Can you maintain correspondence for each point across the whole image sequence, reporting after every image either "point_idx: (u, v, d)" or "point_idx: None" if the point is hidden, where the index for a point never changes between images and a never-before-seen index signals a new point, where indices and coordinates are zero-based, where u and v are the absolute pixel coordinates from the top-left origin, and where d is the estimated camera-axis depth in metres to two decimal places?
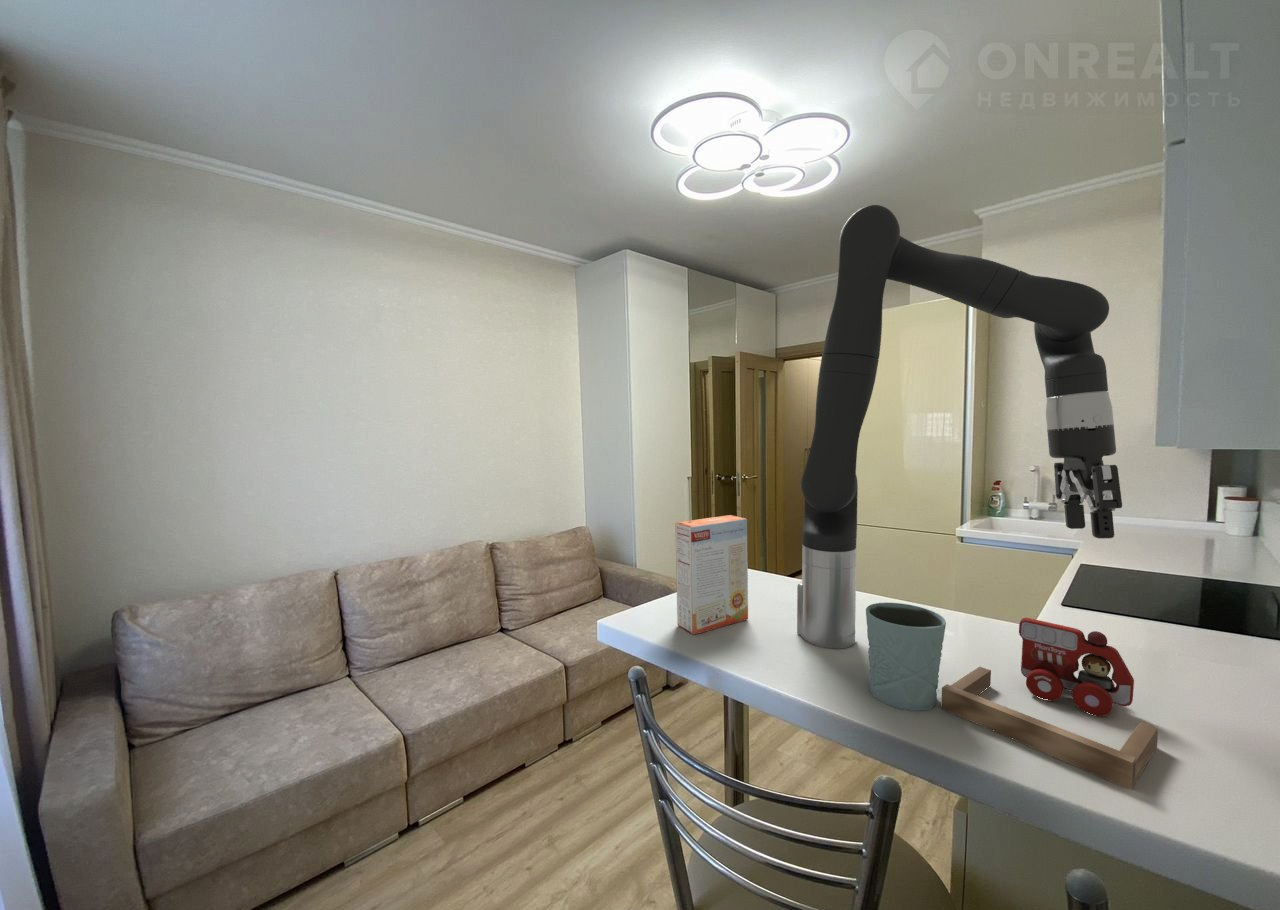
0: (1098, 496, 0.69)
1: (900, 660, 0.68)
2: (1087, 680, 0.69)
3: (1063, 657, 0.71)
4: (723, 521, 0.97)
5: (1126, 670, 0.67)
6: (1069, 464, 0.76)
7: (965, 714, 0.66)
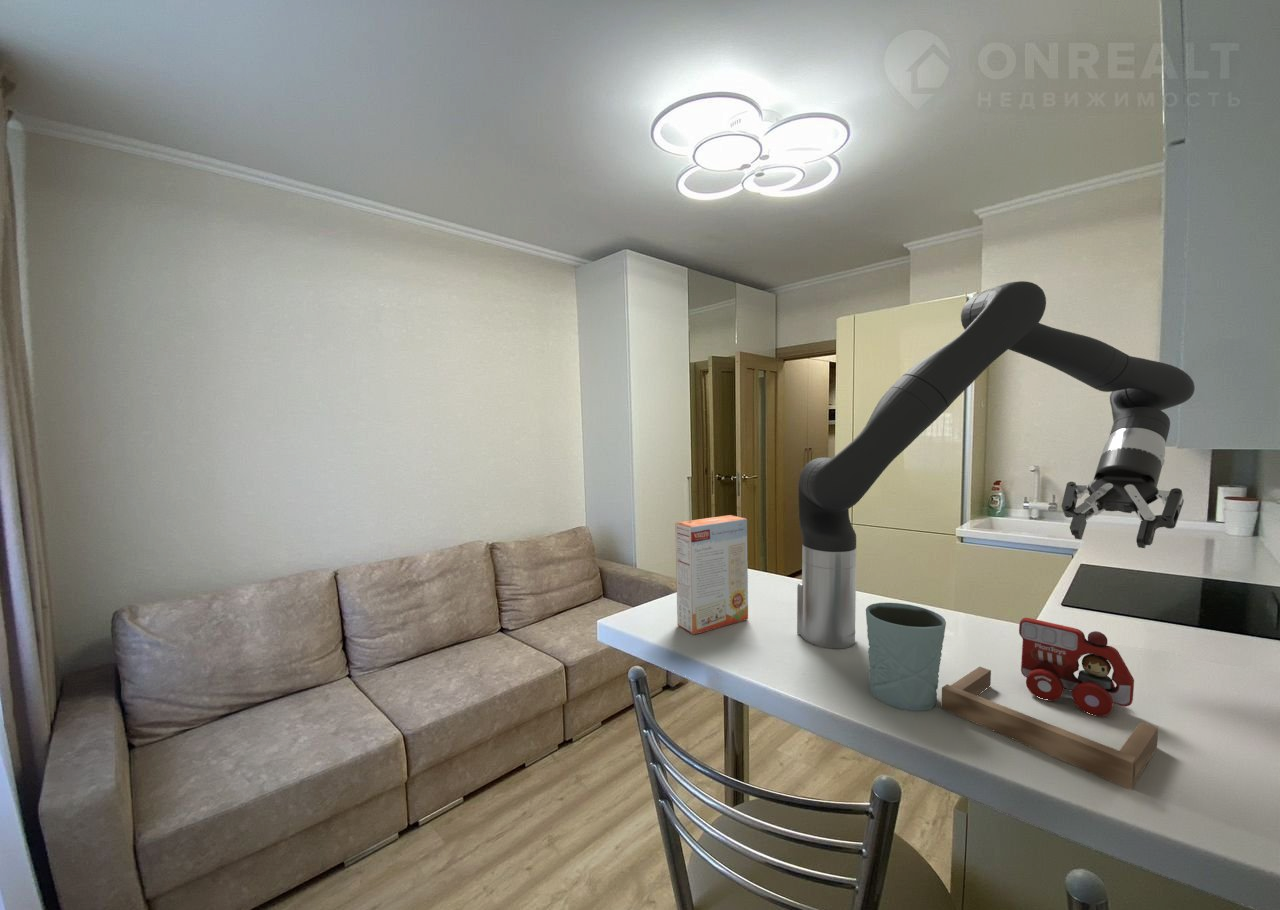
0: (1175, 510, 0.74)
1: (900, 660, 0.68)
2: (1087, 680, 0.69)
3: (1063, 657, 0.71)
4: (723, 521, 0.97)
5: (1126, 670, 0.67)
6: (1110, 483, 0.82)
7: (965, 714, 0.66)
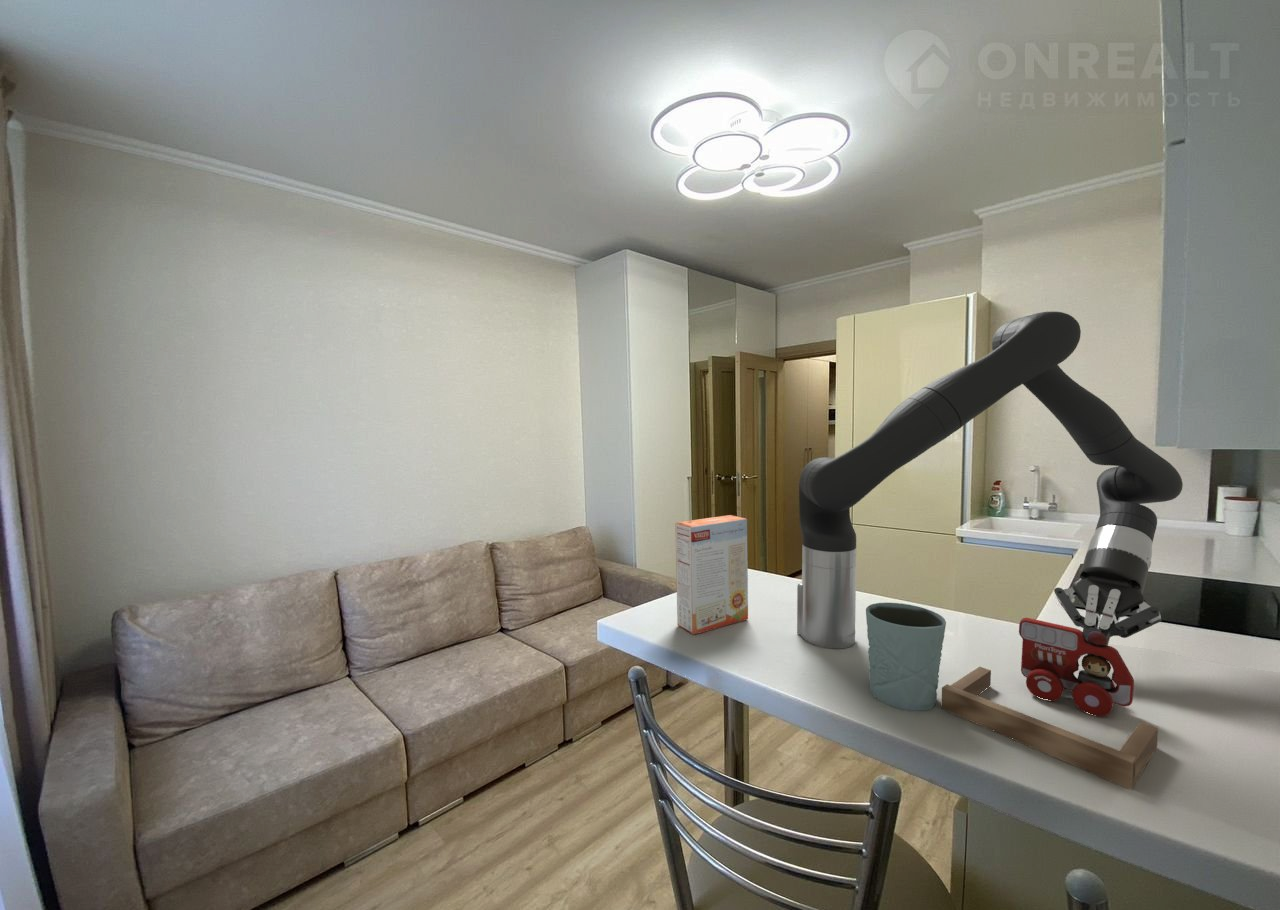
0: (1132, 625, 0.74)
1: (900, 660, 0.68)
2: (1087, 680, 0.69)
3: (1063, 657, 0.71)
4: (723, 521, 0.97)
5: (1126, 670, 0.67)
6: (1095, 584, 0.80)
7: (965, 714, 0.66)
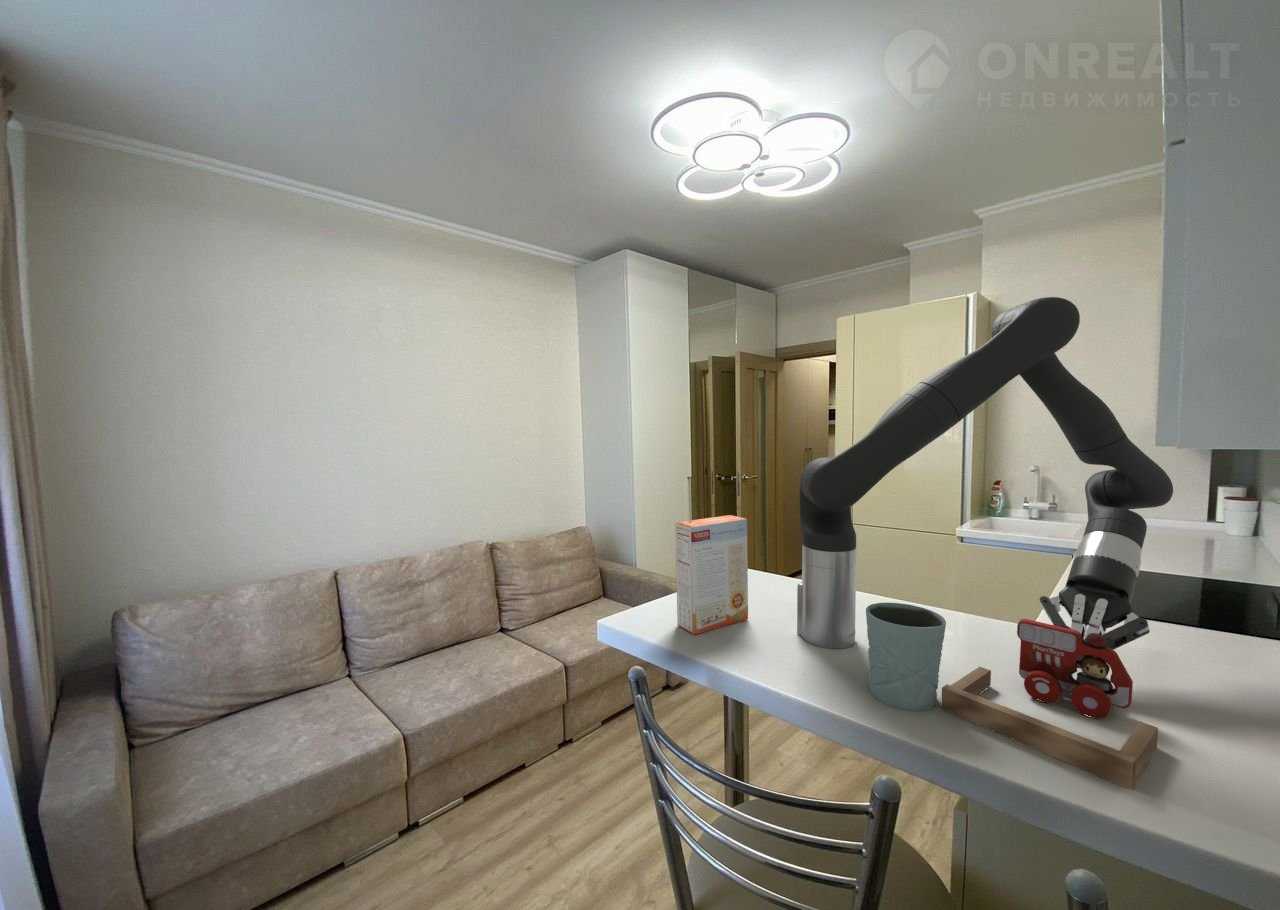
0: (1119, 636, 0.71)
1: (900, 660, 0.68)
2: (1085, 682, 0.68)
3: (1061, 659, 0.70)
4: (723, 521, 0.97)
5: (1125, 672, 0.66)
6: (1082, 592, 0.77)
7: (965, 714, 0.66)
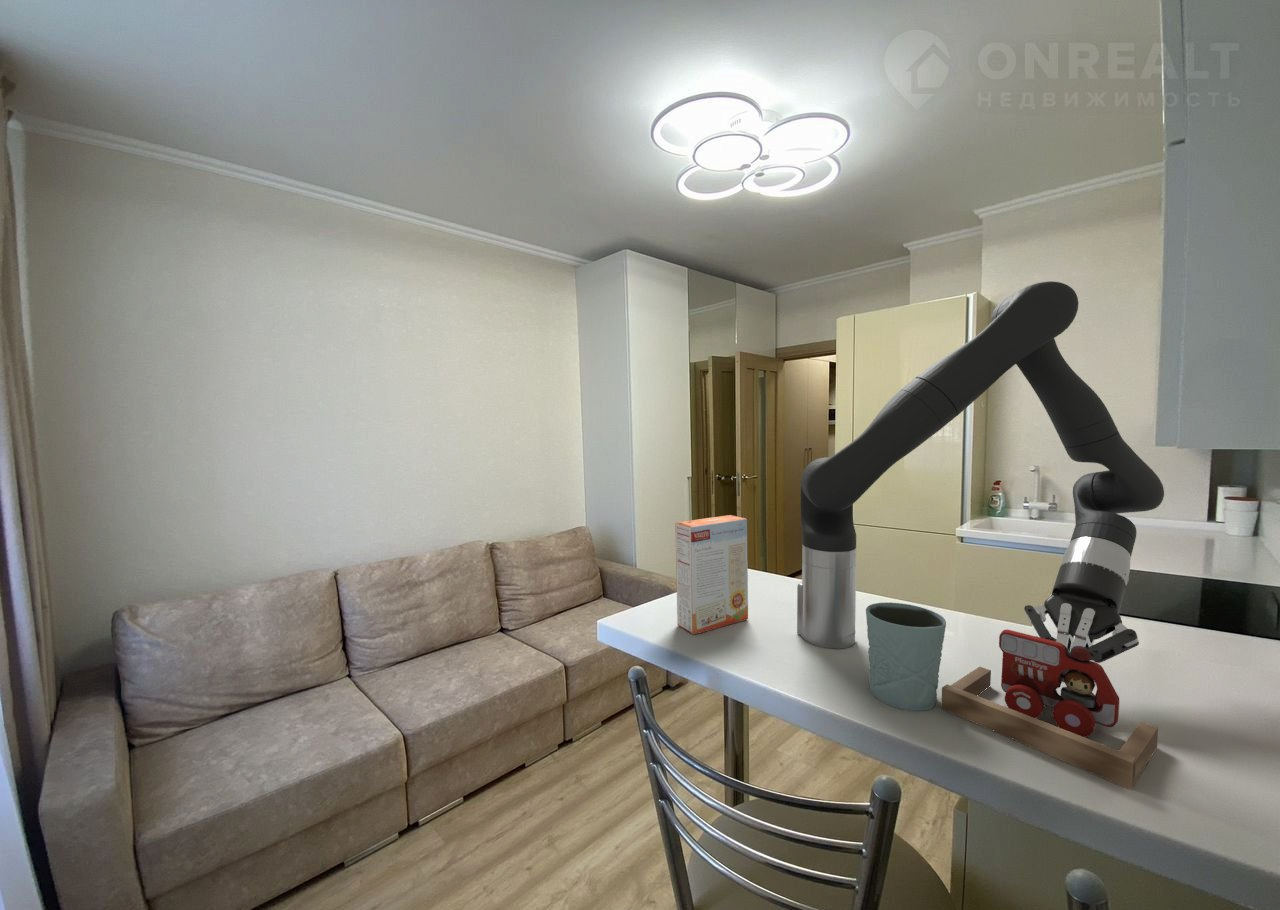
0: (1106, 649, 0.67)
1: (900, 660, 0.68)
2: (1069, 698, 0.64)
3: (1044, 672, 0.67)
4: (723, 521, 0.97)
5: (1110, 688, 0.62)
6: (1068, 602, 0.73)
7: (965, 714, 0.66)
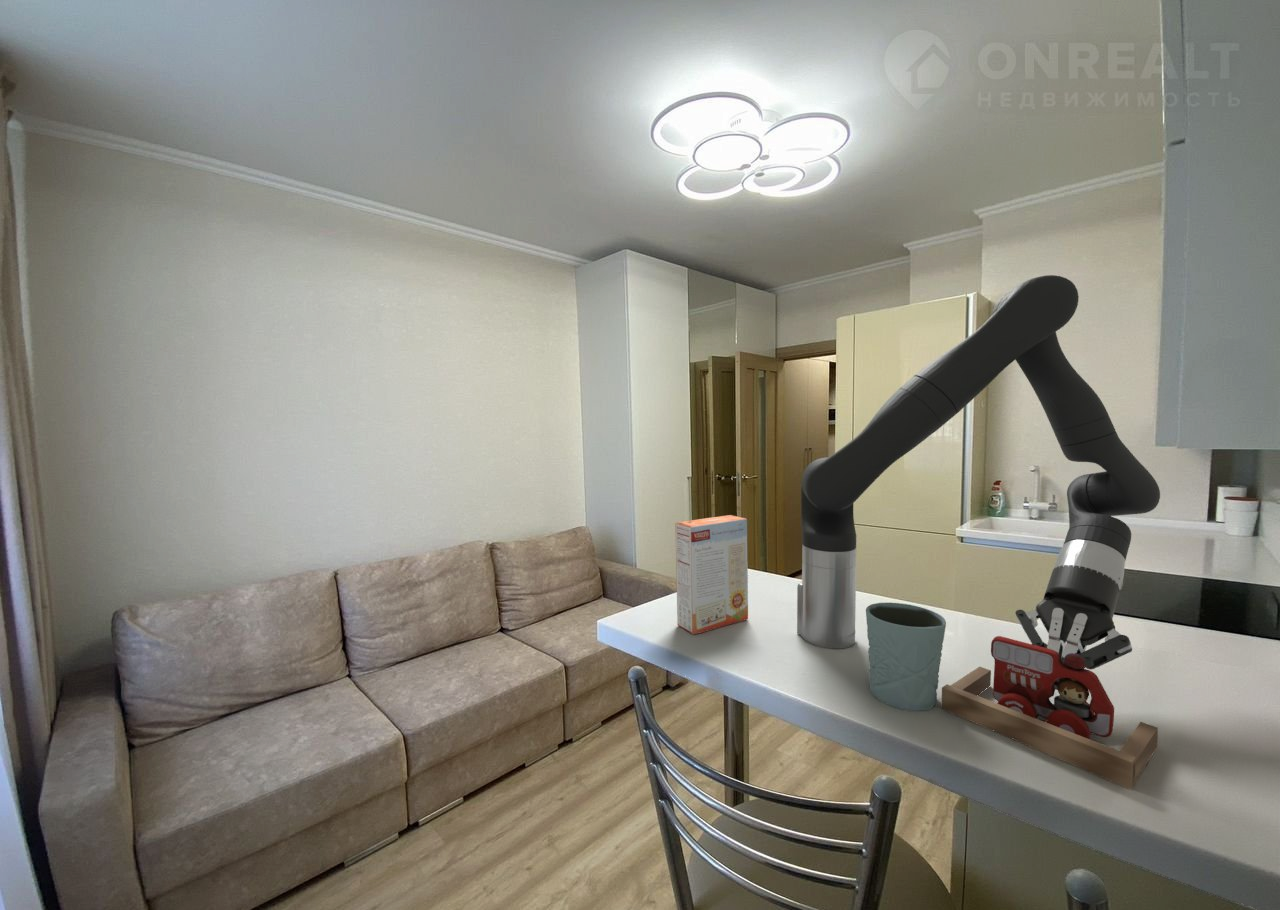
0: (1099, 655, 0.65)
1: (900, 660, 0.68)
2: (1063, 707, 0.62)
3: (1037, 681, 0.65)
4: (723, 521, 0.97)
5: (1105, 697, 0.60)
6: (1060, 606, 0.71)
7: (965, 714, 0.66)
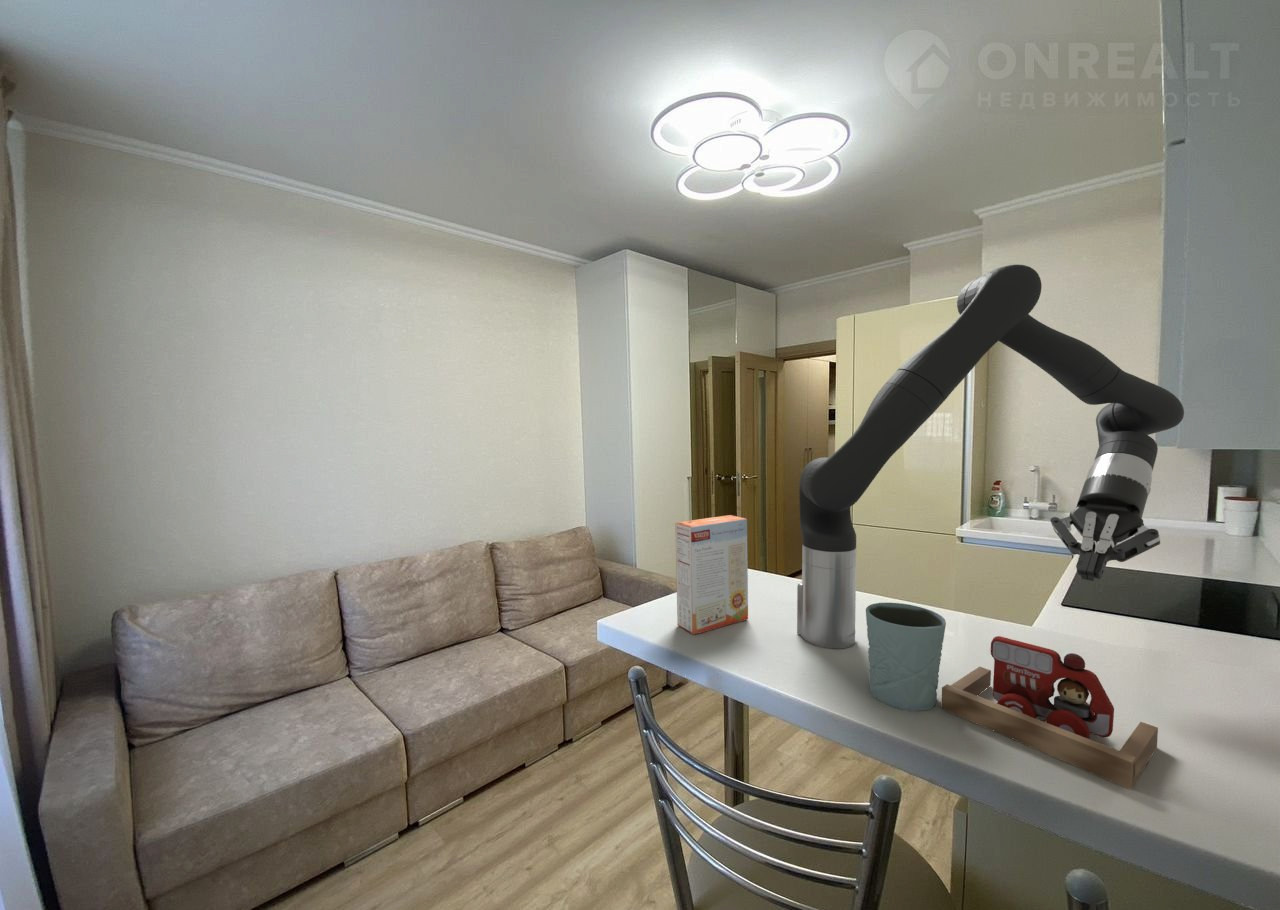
0: (1130, 547, 0.72)
1: (899, 660, 0.68)
2: (1062, 707, 0.62)
3: (1037, 681, 0.64)
4: (723, 521, 0.97)
5: (1105, 697, 0.60)
6: (1093, 511, 0.78)
7: (965, 714, 0.66)
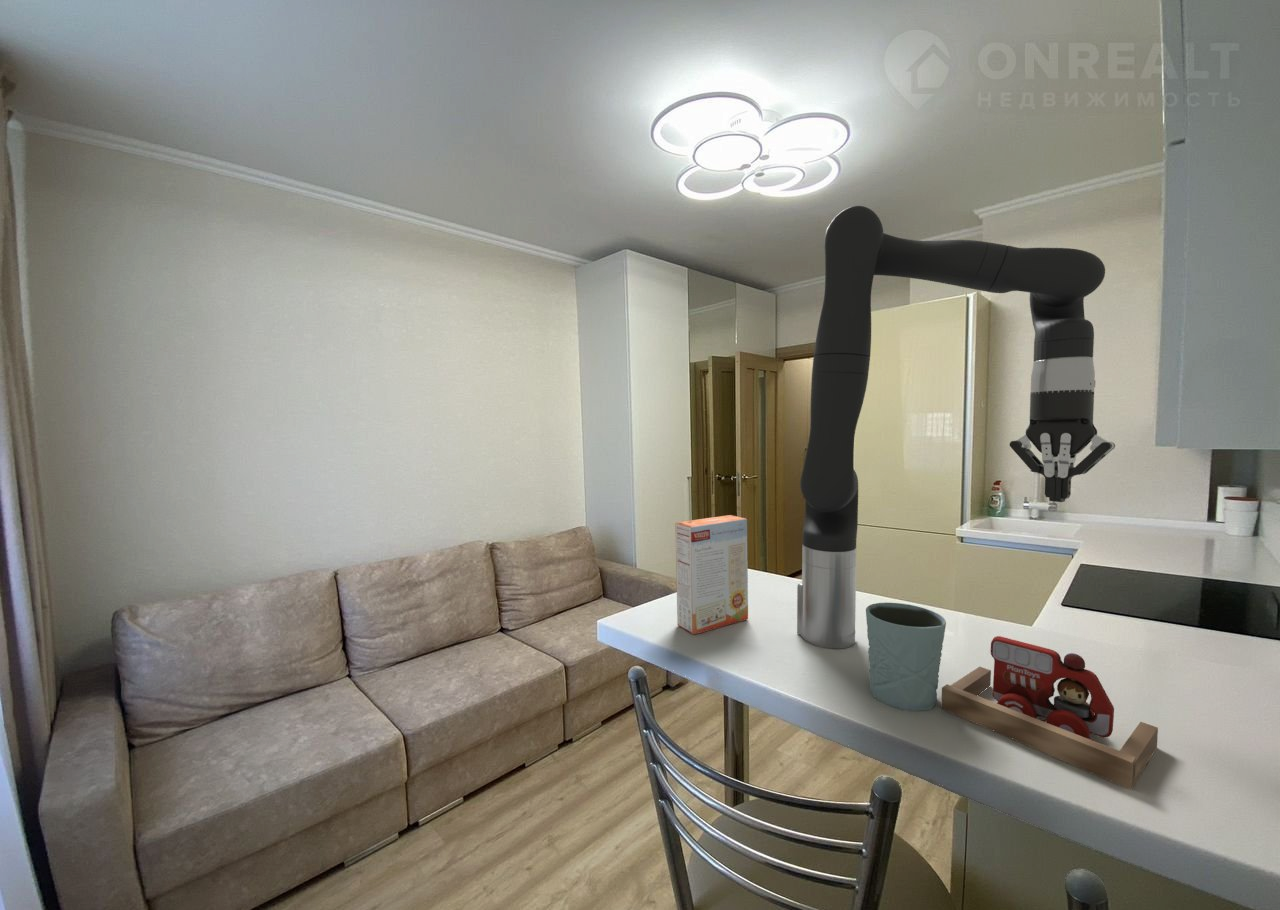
0: (1088, 467, 0.74)
1: (900, 660, 0.68)
2: (1062, 707, 0.62)
3: (1037, 681, 0.64)
4: (723, 521, 0.97)
5: (1105, 697, 0.60)
6: (1046, 428, 0.78)
7: (965, 714, 0.66)
